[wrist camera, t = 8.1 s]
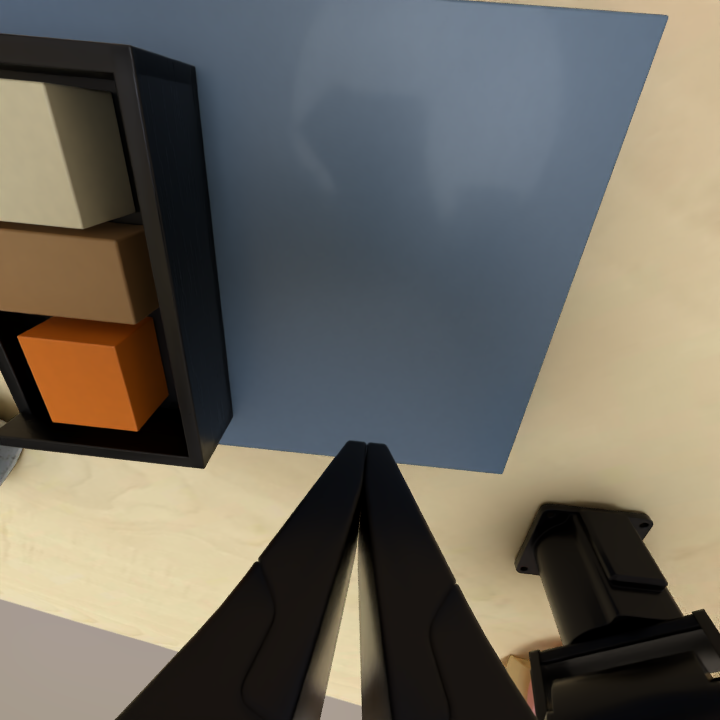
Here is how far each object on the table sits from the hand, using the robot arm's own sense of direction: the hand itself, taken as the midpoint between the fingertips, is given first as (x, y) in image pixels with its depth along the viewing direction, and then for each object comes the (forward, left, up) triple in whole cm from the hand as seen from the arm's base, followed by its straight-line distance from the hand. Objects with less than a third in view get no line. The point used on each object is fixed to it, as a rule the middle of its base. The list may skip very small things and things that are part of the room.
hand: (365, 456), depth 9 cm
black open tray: (+1, +11, -8) cm, 14 cm away
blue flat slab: (0, +5, -10) cm, 11 cm away
